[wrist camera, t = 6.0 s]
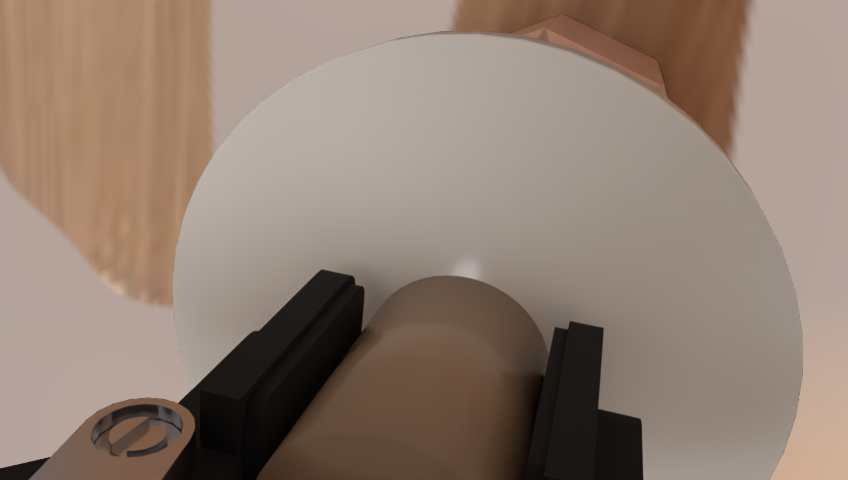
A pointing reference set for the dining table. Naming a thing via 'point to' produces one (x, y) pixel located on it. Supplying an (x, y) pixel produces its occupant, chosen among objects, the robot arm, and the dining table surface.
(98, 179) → the dining table surface
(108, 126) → the dining table surface
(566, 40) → the bowl
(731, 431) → the lid
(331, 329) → the robot arm
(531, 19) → the dining table surface
